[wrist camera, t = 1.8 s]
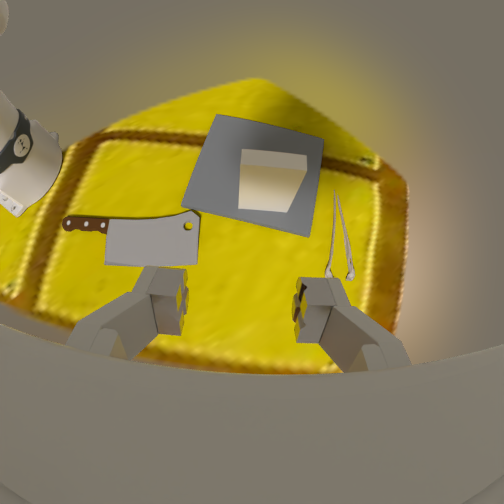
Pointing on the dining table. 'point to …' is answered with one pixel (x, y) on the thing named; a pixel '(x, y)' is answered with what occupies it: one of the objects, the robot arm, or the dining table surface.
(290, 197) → the tile
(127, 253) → the kitchen cleaver
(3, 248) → the dining table surface
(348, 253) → the tweezers
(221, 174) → the mat
